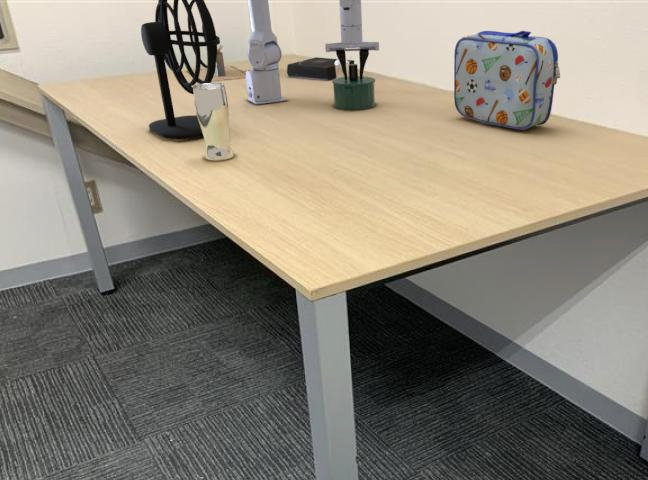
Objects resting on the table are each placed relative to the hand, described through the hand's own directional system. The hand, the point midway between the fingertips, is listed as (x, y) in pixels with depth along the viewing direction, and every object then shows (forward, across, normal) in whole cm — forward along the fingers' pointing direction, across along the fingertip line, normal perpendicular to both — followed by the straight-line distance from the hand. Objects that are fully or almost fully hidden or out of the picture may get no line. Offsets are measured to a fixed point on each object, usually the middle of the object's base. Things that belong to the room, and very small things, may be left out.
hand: (353, 79), depth 186 cm
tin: (+7, 0, 0) cm, 7 cm away
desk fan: (+7, -42, -22) cm, 48 cm away
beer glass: (+7, -32, -46) cm, 57 cm away
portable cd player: (+7, -10, +51) cm, 52 cm away
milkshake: (+7, -2, +22) cm, 23 cm away
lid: (+1, 0, 0) cm, 1 cm away
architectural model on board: (+7, -46, +60) cm, 76 cm away
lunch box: (+7, +36, -27) cm, 46 cm away
